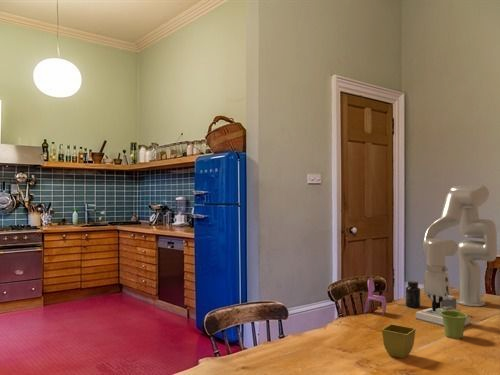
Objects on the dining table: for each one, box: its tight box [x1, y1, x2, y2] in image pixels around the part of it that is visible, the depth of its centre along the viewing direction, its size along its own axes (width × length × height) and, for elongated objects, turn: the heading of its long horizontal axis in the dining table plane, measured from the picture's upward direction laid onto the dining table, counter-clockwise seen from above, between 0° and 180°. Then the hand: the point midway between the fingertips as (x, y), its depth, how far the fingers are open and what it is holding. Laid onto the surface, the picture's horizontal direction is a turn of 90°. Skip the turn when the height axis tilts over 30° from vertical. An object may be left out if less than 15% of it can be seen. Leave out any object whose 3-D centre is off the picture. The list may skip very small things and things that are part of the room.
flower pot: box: [381, 323, 416, 359], centre depth 146 cm, size 9×9×9 cm
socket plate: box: [415, 307, 472, 327], centre depth 185 cm, size 12×18×4 cm, turn 36°
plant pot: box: [440, 311, 468, 340], centre depth 166 cm, size 9×9×9 cm
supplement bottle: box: [405, 280, 421, 309], centre depth 210 cm, size 7×7×12 cm
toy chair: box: [363, 279, 387, 316], centre depth 199 cm, size 8×9×15 cm
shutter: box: [436, 306, 461, 316], centre depth 183 cm, size 7×7×4 cm
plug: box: [440, 295, 457, 309], centre depth 197 cm, size 4×5×8 cm
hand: (436, 310), depth 188 cm, fingers closed
